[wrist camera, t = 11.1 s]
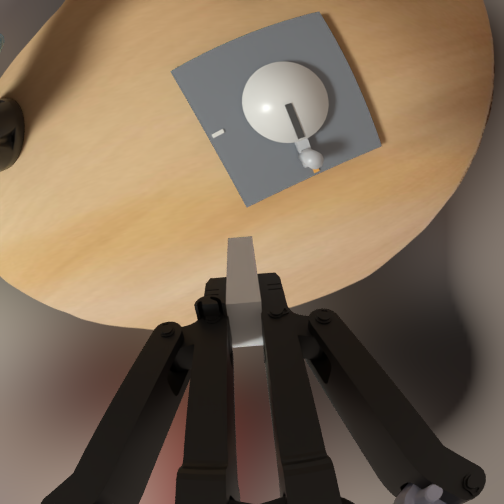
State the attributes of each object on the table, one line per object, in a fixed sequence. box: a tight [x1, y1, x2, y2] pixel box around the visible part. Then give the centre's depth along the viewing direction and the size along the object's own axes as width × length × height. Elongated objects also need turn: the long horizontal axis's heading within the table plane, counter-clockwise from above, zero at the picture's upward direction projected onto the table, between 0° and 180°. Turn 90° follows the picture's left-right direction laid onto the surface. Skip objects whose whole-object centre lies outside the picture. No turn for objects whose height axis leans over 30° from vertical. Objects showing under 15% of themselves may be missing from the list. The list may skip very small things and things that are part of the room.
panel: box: [171, 12, 381, 207], centre depth 35 cm, size 24×24×2 cm
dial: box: [242, 62, 329, 169], centre depth 33 cm, size 16×12×5 cm
